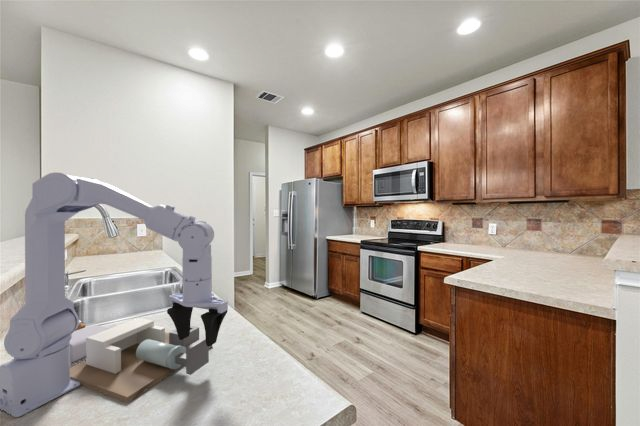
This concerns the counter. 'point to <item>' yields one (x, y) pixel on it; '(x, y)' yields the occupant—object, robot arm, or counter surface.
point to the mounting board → (122, 375)
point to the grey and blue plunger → (174, 354)
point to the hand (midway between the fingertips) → (197, 340)
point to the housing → (128, 342)
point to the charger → (83, 340)
